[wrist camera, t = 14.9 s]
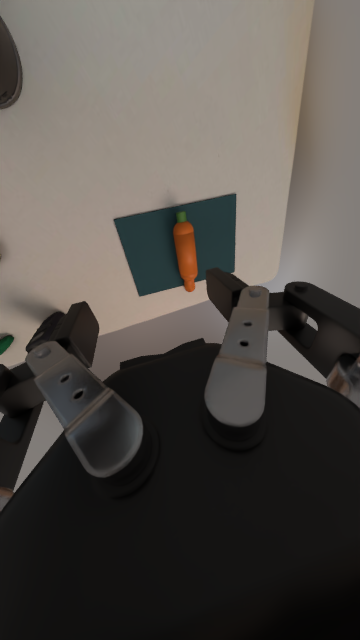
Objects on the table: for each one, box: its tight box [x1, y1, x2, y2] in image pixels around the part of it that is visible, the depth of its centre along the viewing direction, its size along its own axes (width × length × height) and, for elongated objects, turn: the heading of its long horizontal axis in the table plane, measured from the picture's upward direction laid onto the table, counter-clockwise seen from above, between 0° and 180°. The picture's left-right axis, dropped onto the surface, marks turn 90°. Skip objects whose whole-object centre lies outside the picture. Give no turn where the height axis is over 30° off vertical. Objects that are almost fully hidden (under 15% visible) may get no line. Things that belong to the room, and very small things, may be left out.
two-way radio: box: [26, 312, 65, 355], centre depth 34 cm, size 6×4×15 cm
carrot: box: [173, 211, 198, 292], centre depth 37 cm, size 17×4×4 cm, turn 10°
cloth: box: [114, 194, 236, 296], centre depth 38 cm, size 16×24×1 cm, turn 100°
